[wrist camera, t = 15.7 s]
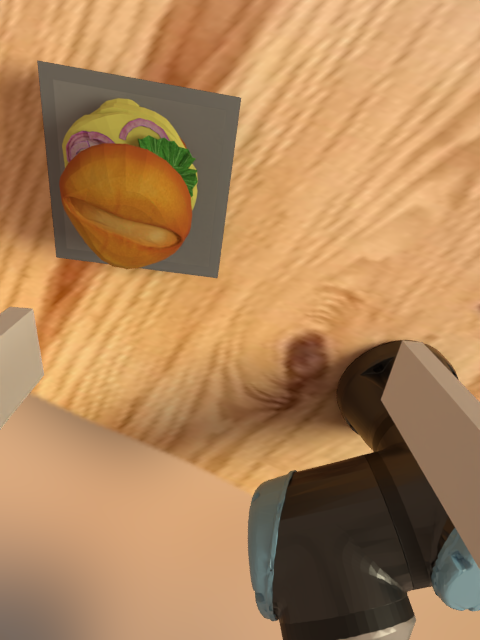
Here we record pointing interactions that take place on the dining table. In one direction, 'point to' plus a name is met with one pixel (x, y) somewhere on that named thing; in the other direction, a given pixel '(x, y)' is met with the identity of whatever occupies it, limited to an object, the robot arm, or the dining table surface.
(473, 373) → the dining table surface
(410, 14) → the dining table surface
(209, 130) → the tray
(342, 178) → the dining table surface
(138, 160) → the cheeseburger
